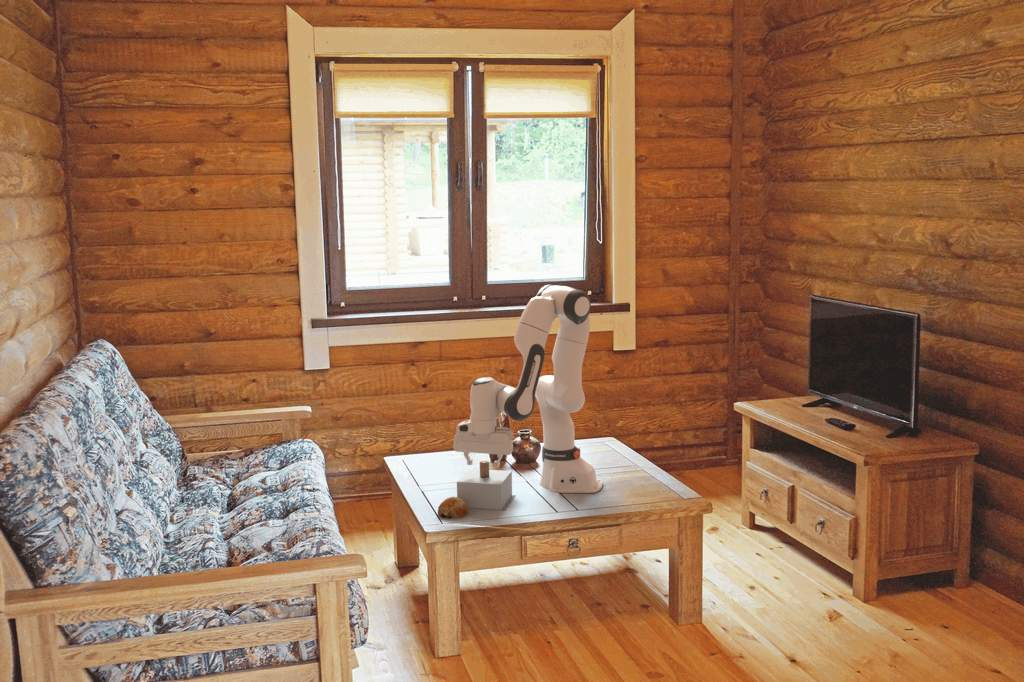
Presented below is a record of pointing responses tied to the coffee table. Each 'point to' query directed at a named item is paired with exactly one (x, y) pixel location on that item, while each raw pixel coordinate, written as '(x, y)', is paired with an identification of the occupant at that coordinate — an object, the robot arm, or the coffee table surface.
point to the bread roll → (453, 508)
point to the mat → (505, 504)
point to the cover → (485, 487)
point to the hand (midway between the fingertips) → (483, 465)
